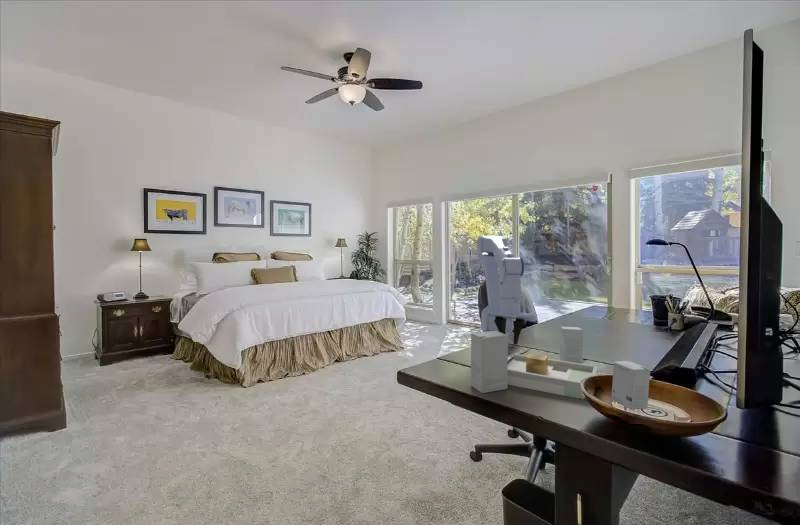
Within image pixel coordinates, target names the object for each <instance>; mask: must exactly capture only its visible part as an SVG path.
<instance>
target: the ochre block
mask: <svg viewBox="0 0 800 525" xmlns="http://www.w3.org/2000/svg"><path fill="white" fill-rule="evenodd" d="M548 359H549V355H543V354H542V355H541V354H535V353H529V354H528V355H527V357H526V371H527V372H532V373H538V374H545V373H546V371H547V370H548Z"/></svg>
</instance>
